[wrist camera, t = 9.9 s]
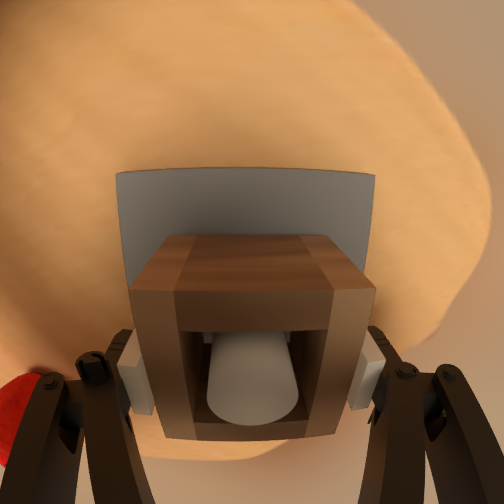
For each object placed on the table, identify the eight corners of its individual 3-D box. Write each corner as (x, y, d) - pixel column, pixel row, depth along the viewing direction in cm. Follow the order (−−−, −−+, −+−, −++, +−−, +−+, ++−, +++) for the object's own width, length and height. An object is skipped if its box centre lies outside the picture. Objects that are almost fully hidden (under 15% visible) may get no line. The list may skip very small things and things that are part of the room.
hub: (168, 235, 14) (128, 289, 9) (327, 235, 15) (376, 287, 9) (181, 361, 17) (166, 437, 11) (310, 359, 17) (334, 433, 12)
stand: (123, 171, 15) (20, 204, 7) (366, 173, 16) (474, 206, 7) (151, 366, 20) (121, 468, 11) (337, 364, 21) (376, 461, 12)
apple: (105, 407, 22) (72, 502, 12) (65, 424, 23) (34, 497, 13) (35, 340, 19) (-27, 426, 9) (6, 369, 20) (-40, 437, 10)
